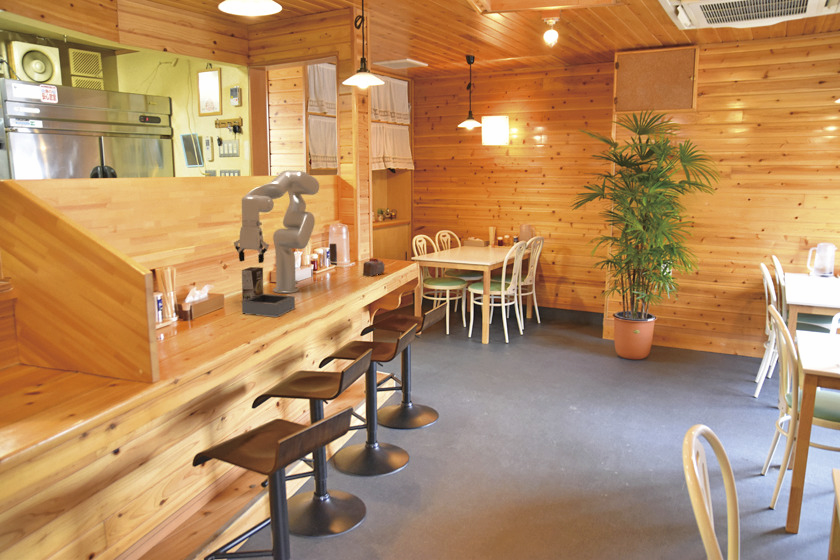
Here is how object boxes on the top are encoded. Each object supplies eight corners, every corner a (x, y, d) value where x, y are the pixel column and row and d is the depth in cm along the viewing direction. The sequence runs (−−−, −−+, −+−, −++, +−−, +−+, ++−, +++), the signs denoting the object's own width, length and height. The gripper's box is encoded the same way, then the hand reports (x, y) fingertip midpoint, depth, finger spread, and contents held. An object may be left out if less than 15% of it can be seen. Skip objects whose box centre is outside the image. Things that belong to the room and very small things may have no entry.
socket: (262, 305, 268) (261, 293, 266) (294, 308, 263) (294, 296, 262) (242, 313, 252) (241, 301, 251) (276, 317, 248) (276, 304, 247)
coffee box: (255, 305, 266) (254, 270, 263) (242, 304, 268) (240, 269, 264) (264, 301, 275) (263, 267, 272) (251, 300, 276) (250, 266, 273)
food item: (374, 272, 354) (374, 256, 352) (385, 273, 350) (385, 257, 348) (361, 275, 342) (361, 259, 340) (373, 277, 338) (373, 260, 336)
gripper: (272, 224, 265) (272, 262, 268) (238, 222, 270) (239, 259, 273) (263, 225, 258) (264, 264, 261) (229, 223, 263) (229, 261, 266)
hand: (251, 261), depth 267 cm, fingers open, 9 cm apart
